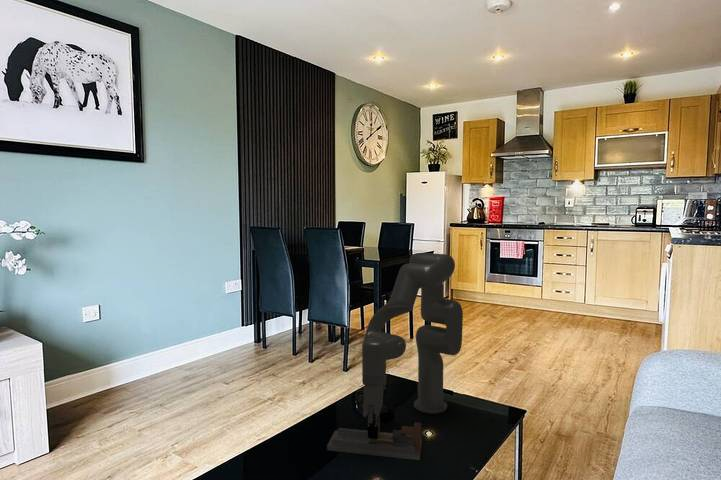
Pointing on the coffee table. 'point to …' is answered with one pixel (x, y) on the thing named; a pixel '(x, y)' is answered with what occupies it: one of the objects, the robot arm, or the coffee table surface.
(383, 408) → the tape measure
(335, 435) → the rail
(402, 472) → the coffee table surface
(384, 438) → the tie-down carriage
